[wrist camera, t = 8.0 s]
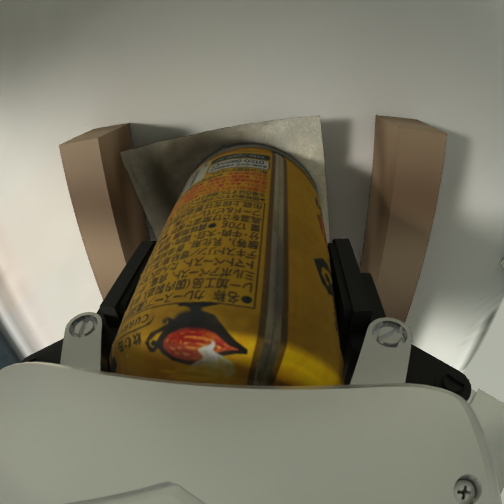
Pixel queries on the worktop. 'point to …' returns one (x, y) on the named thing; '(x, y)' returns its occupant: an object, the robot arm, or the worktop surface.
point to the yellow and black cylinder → (234, 260)
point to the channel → (378, 219)
